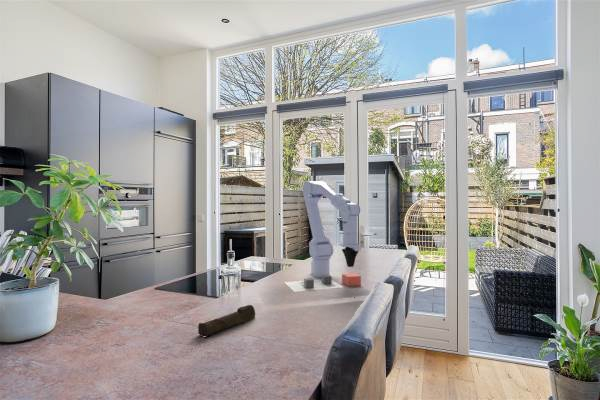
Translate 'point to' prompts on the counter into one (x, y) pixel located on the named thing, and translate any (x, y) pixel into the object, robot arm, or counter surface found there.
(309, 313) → the counter surface
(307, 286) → the block
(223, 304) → the counter surface
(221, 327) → the hand tool
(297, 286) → the breaker panel
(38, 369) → the counter surface
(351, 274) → the coral red cube
